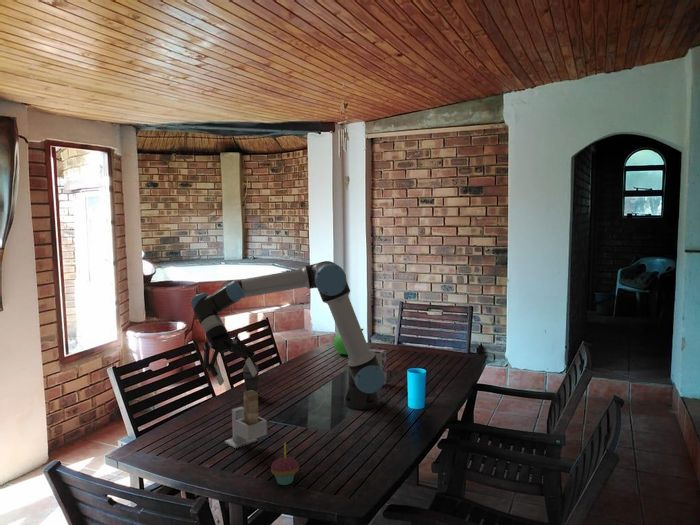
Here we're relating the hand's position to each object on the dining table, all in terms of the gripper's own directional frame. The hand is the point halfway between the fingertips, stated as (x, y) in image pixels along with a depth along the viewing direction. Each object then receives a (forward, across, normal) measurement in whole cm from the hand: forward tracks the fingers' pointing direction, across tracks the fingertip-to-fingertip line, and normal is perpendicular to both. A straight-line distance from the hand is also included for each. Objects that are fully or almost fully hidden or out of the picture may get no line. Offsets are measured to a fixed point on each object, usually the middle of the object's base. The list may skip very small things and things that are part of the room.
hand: (238, 378), depth 186 cm
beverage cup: (-10, -30, -43) cm, 54 cm away
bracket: (+19, 0, -14) cm, 24 cm away
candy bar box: (+10, -81, -24) cm, 85 cm away
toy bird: (-23, -110, -57) cm, 126 cm away
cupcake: (+40, +6, +7) cm, 41 cm away
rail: (+17, 0, -7) cm, 19 cm away
